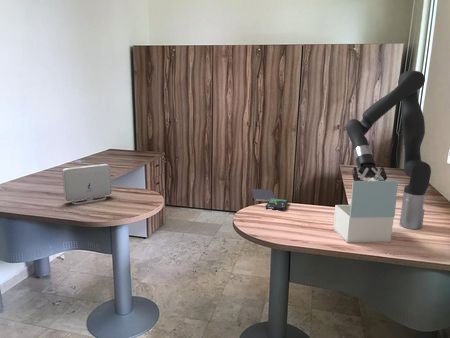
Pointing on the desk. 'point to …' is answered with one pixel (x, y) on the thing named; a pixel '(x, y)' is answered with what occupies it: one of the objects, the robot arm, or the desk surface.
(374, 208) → the lid flap
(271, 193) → the notebook
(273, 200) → the disk drive
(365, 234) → the carton
